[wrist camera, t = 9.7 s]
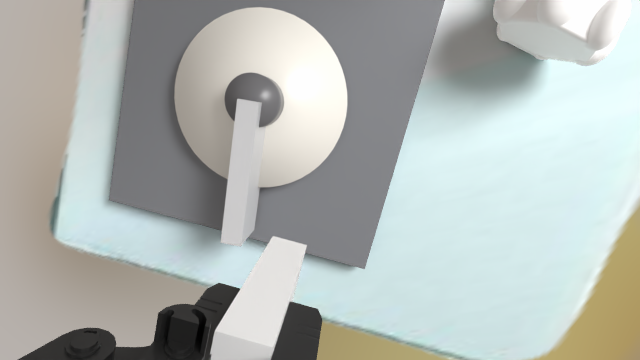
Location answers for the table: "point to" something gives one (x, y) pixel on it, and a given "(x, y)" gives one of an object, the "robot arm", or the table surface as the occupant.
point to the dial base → (323, 182)
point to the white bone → (562, 27)
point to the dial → (259, 105)
